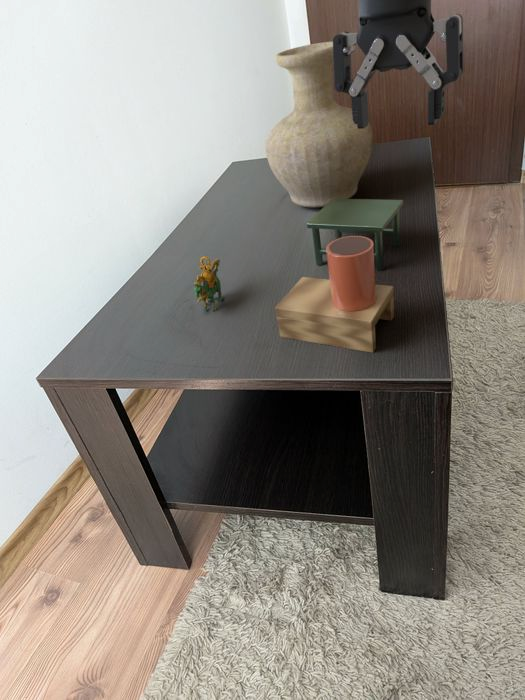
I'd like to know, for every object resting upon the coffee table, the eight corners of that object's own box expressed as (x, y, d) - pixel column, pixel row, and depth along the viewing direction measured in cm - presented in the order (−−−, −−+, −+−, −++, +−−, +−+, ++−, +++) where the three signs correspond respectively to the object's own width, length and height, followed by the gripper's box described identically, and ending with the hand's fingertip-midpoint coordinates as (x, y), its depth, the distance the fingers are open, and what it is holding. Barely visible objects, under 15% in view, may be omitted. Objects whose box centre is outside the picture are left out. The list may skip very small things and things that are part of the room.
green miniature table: (403, 243, 91) (403, 199, 86) (383, 272, 84) (382, 227, 79) (336, 239, 97) (332, 198, 93) (312, 266, 90) (306, 223, 85)
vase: (397, 196, 109) (393, 34, 92) (307, 230, 103) (285, 63, 86) (338, 175, 126) (325, 36, 109) (258, 204, 120) (232, 61, 103)
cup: (382, 290, 70) (380, 236, 65) (367, 314, 66) (363, 258, 61) (341, 286, 73) (336, 234, 68) (325, 308, 69) (318, 254, 64)
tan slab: (394, 316, 73) (393, 286, 70) (373, 352, 67) (371, 321, 64) (306, 304, 80) (302, 276, 77) (280, 337, 74) (274, 308, 71)
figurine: (194, 321, 82) (181, 276, 77) (217, 283, 91) (206, 241, 86) (212, 321, 81) (199, 275, 76) (233, 283, 90) (223, 240, 86)
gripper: (314, -24, 53) (330, 137, 62) (457, -56, 46) (451, 131, 56) (341, -31, 58) (352, 120, 67) (474, -60, 51) (466, 112, 61)
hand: (397, 125), depth 61 cm, fingers open, 8 cm apart
